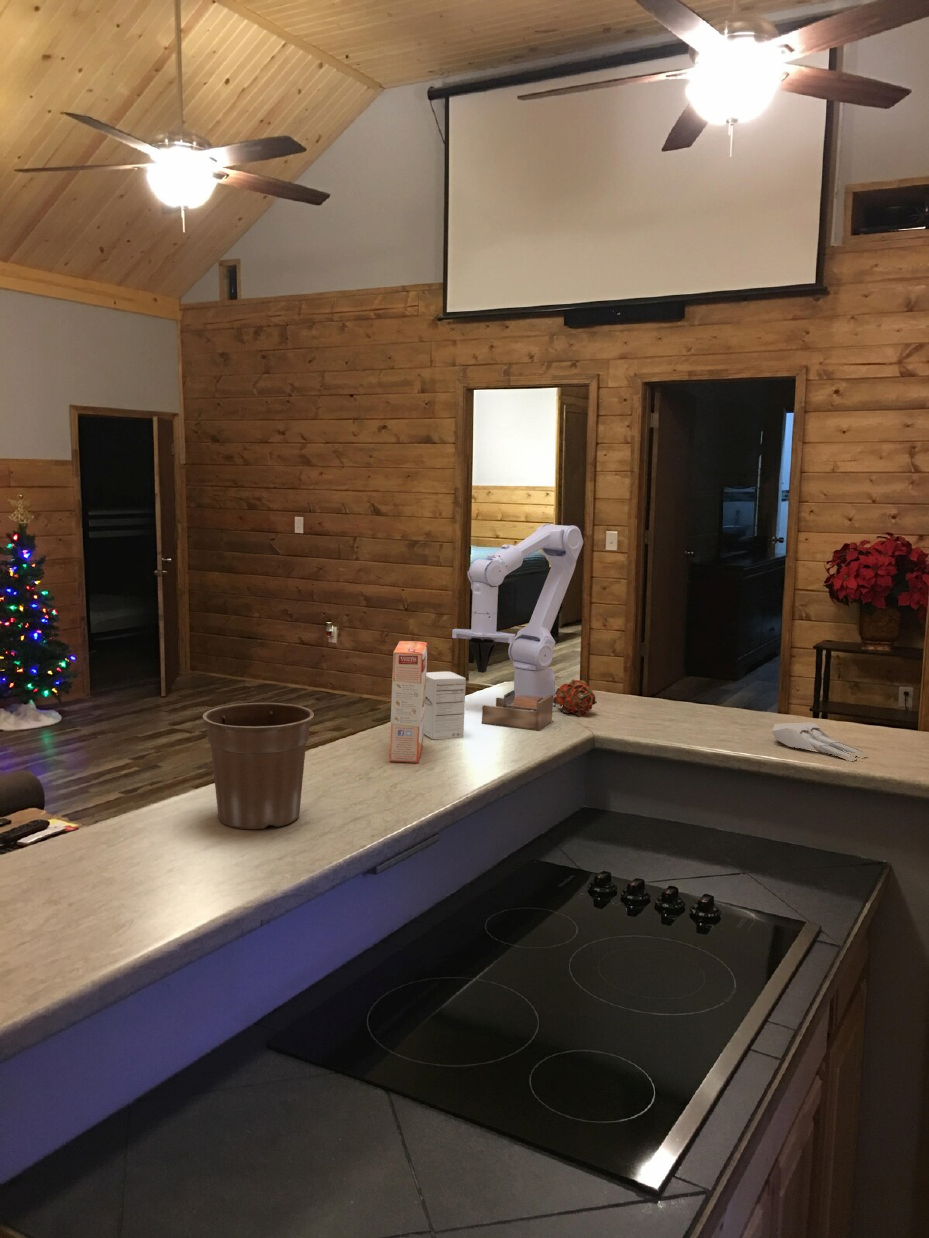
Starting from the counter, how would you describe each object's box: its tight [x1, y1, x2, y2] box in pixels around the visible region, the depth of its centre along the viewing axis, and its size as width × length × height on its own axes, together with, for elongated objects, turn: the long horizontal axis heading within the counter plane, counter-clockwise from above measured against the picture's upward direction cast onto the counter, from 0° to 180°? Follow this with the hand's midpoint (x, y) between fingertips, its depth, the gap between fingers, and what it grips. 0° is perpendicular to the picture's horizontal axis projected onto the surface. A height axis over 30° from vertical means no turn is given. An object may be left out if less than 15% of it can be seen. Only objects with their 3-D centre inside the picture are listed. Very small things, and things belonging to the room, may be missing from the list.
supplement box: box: [423, 671, 467, 740], centre depth 207 cm, size 7×7×13 cm
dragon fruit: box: [553, 679, 597, 716], centre depth 233 cm, size 8×8×12 cm
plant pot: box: [202, 702, 315, 830], centre depth 151 cm, size 16×16×16 cm
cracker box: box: [388, 640, 428, 764], centre depth 190 cm, size 14×6×21 cm, turn 179°
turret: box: [772, 721, 865, 759], centre depth 207 cm, size 10×20×5 cm, turn 41°
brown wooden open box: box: [481, 695, 553, 732], centre depth 220 cm, size 13×10×6 cm
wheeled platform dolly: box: [503, 689, 543, 711], centre depth 220 cm, size 8×8×5 cm
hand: (482, 671), depth 229 cm, fingers closed
